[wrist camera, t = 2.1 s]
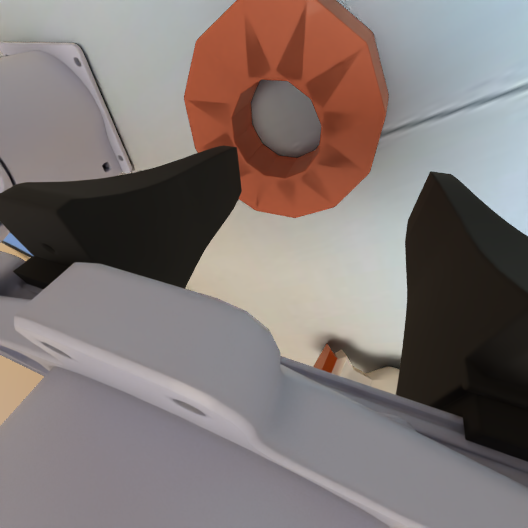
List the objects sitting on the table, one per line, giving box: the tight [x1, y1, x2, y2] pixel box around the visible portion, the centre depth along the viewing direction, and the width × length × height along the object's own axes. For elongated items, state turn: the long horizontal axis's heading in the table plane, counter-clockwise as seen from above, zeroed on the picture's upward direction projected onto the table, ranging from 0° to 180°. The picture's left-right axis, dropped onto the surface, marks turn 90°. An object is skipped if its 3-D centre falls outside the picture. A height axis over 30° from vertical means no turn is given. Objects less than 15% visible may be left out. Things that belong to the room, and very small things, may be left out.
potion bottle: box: [314, 344, 400, 395], centre depth 32 cm, size 9×10×15 cm
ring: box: [184, 0, 389, 218], centre depth 16 cm, size 11×11×3 cm
